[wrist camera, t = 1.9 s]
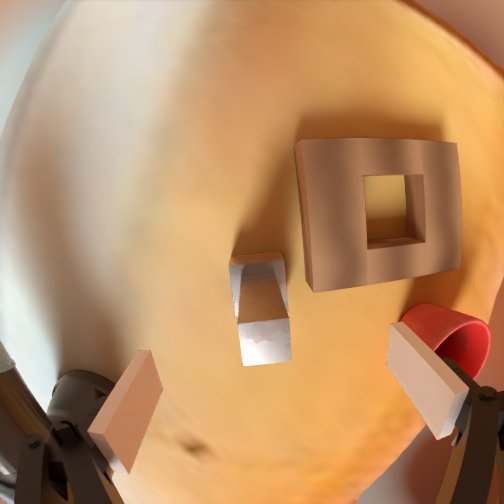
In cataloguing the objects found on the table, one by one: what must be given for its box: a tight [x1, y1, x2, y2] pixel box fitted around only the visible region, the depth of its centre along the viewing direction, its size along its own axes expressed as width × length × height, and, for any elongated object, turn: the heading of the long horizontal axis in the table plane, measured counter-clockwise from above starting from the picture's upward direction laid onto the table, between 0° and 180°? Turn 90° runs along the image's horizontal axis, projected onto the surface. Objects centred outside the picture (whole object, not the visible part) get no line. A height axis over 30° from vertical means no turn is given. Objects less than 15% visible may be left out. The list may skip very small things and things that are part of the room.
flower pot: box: [400, 303, 491, 380], centre depth 28 cm, size 11×11×10 cm
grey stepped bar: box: [229, 251, 292, 366], centre depth 24 cm, size 5×5×14 cm
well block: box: [294, 138, 462, 293], centre depth 27 cm, size 18×14×4 cm
